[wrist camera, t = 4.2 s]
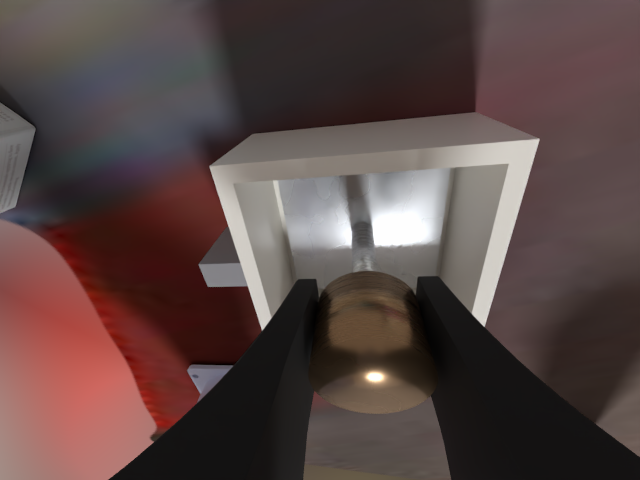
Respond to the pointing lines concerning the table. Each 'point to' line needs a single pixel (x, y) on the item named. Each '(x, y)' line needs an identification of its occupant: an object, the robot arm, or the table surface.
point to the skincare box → (13, 155)
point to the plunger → (368, 281)
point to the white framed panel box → (365, 158)
